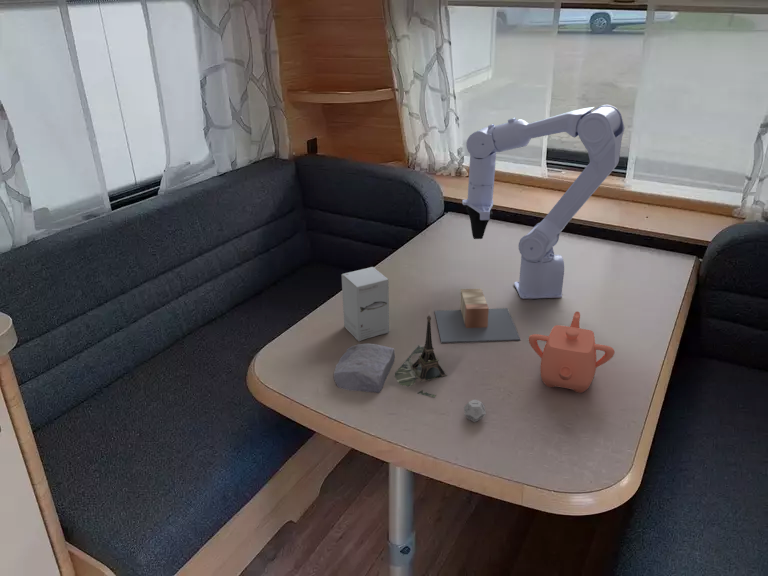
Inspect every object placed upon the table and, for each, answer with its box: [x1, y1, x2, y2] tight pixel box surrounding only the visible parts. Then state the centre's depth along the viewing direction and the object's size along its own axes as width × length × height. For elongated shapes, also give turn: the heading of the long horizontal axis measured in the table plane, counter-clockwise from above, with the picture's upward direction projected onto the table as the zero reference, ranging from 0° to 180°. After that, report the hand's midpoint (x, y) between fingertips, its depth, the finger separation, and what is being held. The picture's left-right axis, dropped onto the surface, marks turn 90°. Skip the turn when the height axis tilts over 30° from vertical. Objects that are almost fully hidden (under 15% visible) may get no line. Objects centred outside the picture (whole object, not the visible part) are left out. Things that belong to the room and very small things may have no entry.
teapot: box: [528, 311, 616, 394], centre depth 112 cm, size 14×12×10 cm
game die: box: [463, 398, 487, 423], centre depth 105 cm, size 4×4×3 cm
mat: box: [434, 307, 521, 344], centre depth 132 cm, size 16×13×1 cm
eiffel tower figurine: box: [394, 315, 448, 398], centre depth 115 cm, size 15×10×13 cm
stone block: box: [333, 342, 396, 394], centre depth 117 cm, size 12×5×10 cm
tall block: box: [459, 288, 490, 328], centre depth 134 cm, size 4×4×9 cm
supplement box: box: [340, 266, 390, 342], centre depth 129 cm, size 7×7×13 cm
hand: (477, 237), depth 148 cm, fingers closed
